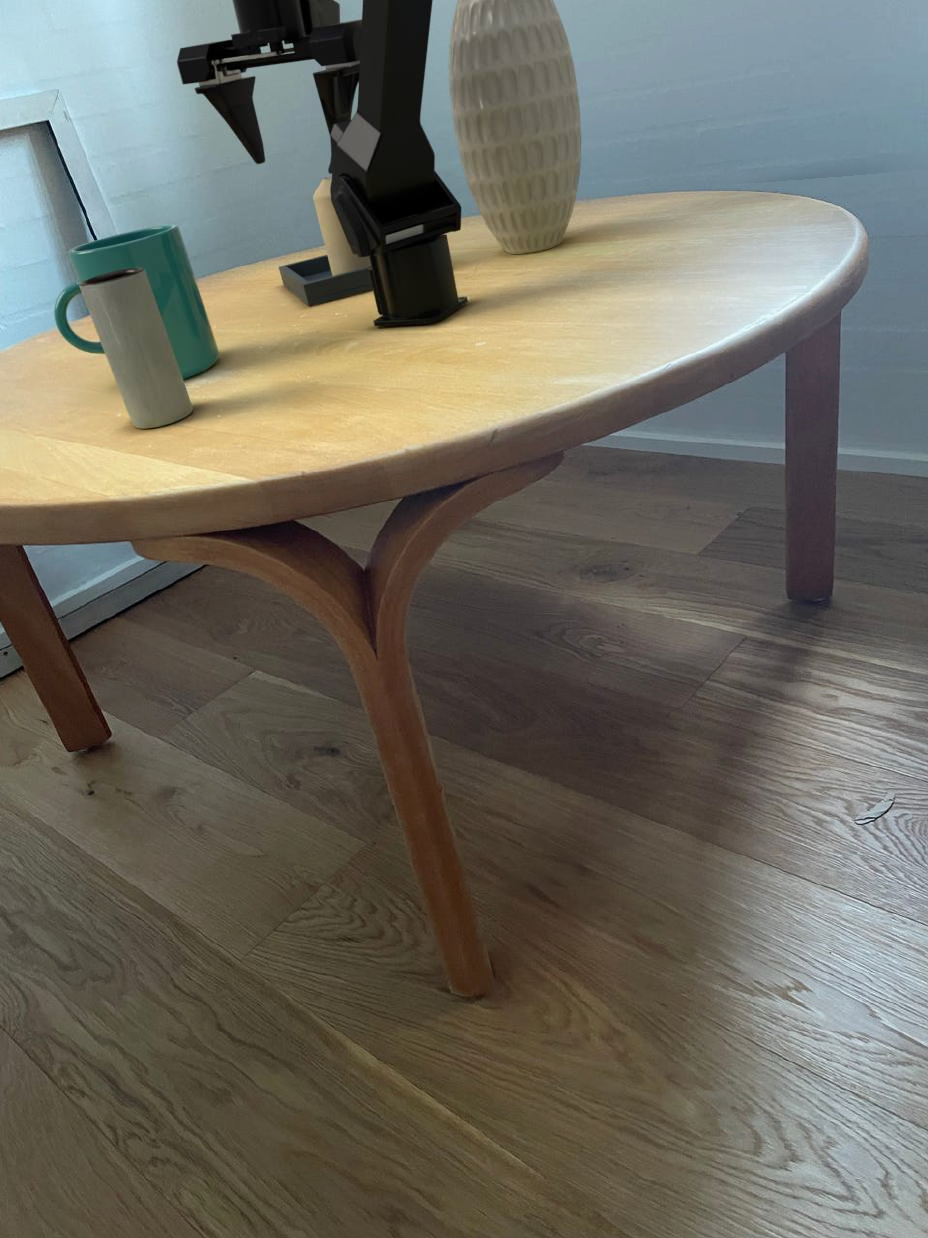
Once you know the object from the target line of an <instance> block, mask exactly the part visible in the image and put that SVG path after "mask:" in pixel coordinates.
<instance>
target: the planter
mask: <svg viewBox="0 0 928 1238" xmlns="http://www.w3.org/2000/svg"><path fill="white" fill-rule="evenodd" d="M79 287H80V290H81V292H82V294H81V295H82V298H83V300H84V302H85V305H86V308H87V310H88V313H89V315H90V318H91V320H92V323H93V326H94V329H95V331H96V333H97V336H98V339H99V342H100V341H101V344H102V347H103V349H104V352H105V354H104V355H105V357H106V359H107V362H108V365H109V368H110V370H111V372H112V375H113V378H114V380H115V383H116V385H117V388H118V391H119V393H120V396H121V398H122V401H123V403H124V406H125V408H126V411H127V414H128V416H129V419H130V421H131V423H132V425H133V427H134V428H137V429H141V430H142V429H143V430H144V429H154V428H155V429H156V428H160V427H163V426H164V427H165V426H168V425H170V424H173V423H176V422H178V421H180V420H182V419H185V418H186V417H188V416H189V415H190V414H191V413H192V412H193V410H194V408H193V405H192V402H191V397H190V396H189V393H188V389H187V386H186V384H185V381H184V379H183V378H182V375H181V372H180V369H179V366H178V364H177V361H176V358H175V355H174V352H173V349H172V346H171V343H170V341H169V338H168V335H167V332H166V329H165V326H164V323H163V320H162V317H161V315H160V312H159V309H158V306H157V303H156V300H155V297H154V294H153V292H152V289H151V286H150V283H149V280H148V277H147V274H146V272H145V269H144V268H141V267H137V268H128V269H123V270H118V271H114V272H109V273H106V274H102V275H99V276H95V277H92V278H89V279H87V280H85V281H83V282H81V283H80V284H79Z"/></svg>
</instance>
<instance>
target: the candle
mask: <svg viewBox="0 0 928 1238" xmlns="http://www.w3.org/2000/svg"><path fill="white" fill-rule="evenodd" d="M331 181H332V177H324V178H323V179H322V180H321V182H320V184H319V185H318V187H317V188H316V190H315V192H314V194H313V196H312V199H313V204H314V207H315V211H316V215H317V220H318V223H319V227H320V232H321V235H322V240H323V243H324V247H325V251H326V255H327V256H328V260H329V264H330V268H331V272H332V275H333V276H334V275H338V274H342V273H346V272H350V271H354V270H358V269H361V268H365V267H369V266H371V262H370V258H369V256H367V257H358V255H356V254H353V253H352V250H351V248H350V246H349V244H348V242H347V239H346V237H345V234H344V232H343V229H342V227H341V224H340V222H339V219H338V217H337V214H336V212H335V209H334V207H333V205H332V202H331V193H330V186H331Z"/></svg>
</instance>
